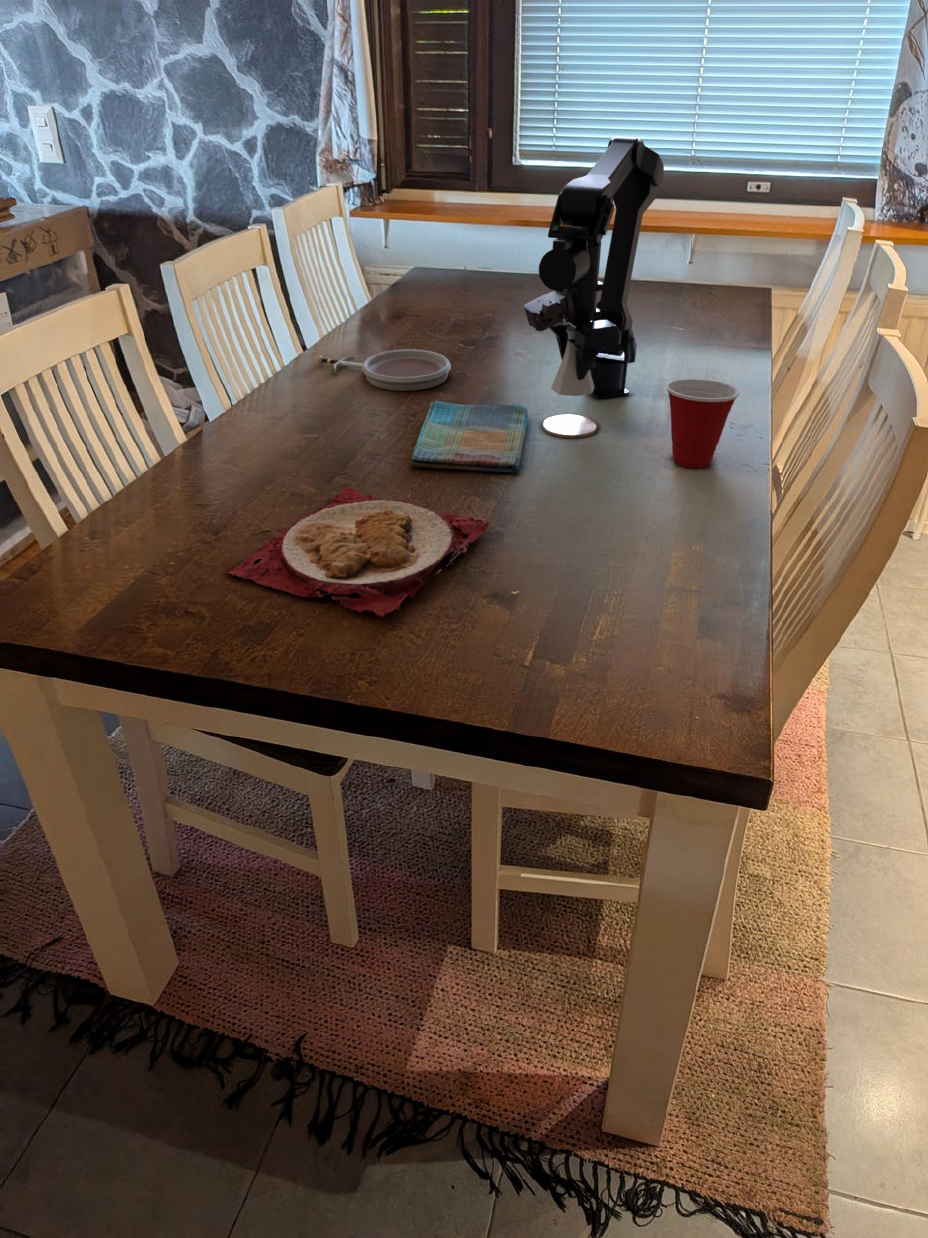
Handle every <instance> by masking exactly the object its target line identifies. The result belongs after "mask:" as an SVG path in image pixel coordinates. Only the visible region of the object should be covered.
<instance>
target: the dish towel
mask: <svg viewBox="0 0 928 1238" xmlns="http://www.w3.org/2000/svg"><path fill="white" fill-rule="evenodd" d="M528 414H529V412H528V408H527V407H526V406H525V405H524V404H521V403H505V404H456V403H449V402H444V401H439V400H435V401H434V402H433V401H432V402H430V404H429V409H428V412H427V414H426V416H425V419H424V421H423V423H422V424H423V425H422V427H421V430H420V432H419V435H418V438H417V441H416V444H415V446H414V449H413V452H412V455H411V457H410V459H411V461H410V462H411V467H414V468H432V469H446V470H447V469H448V470H460V471H461V470H462V471H475V472H477V471H478V472H486V473H489V472H490V473H505V474H516V473H518V472H519V469H520V465H521V460H522V453H523V448H524V443H525V436H526V432H527V429H528V421H529V415H528Z"/></svg>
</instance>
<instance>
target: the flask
mask: <svg viewBox="0 0 928 1238" xmlns="http://www.w3.org/2000/svg"><path fill="white" fill-rule="evenodd" d="M575 329H576V328H574V327H572V326H570V327H567V330H566V331H567V333H568V339H575V337H574V332H575ZM550 389H551V390H552V391H553V392H554V393H556V394H557V395H559V396H569V397H570V396H571V397H581V396H586V395H592V393H593V390H594V384H593V380H592V377H591V373H590V370H589V371H588V373H587V374H586V376H585V378H584V379H583V380H578V378H577V374H576V357H575V348H574V347H573V346H572V345H571V344H570V342H569V341H568V342H567V346H566V351H565V354H564V357H563V360H561V362H560V365H559V367H558V370H557V372H556V374H555V377H554V380H553V383H552V386H551V387H550Z"/></svg>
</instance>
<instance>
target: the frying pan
mask: <svg viewBox="0 0 928 1238" xmlns="http://www.w3.org/2000/svg"><path fill="white" fill-rule="evenodd" d="M354 360H356V355H355V354H353V355H348V356H344V357H342V358H341V359H332V358H324V357H323V356H322V355H319V356H317V357H316V359H315V361H316V363H317V364H318V365H323V364H329V365H333V370H334V373H337V368H338V367H340V366H344V367H352V368H360V369H361V372H362V373H363V374H364V376H365V378H366V381H367V382H368V383H369V384H370V385H372V386H374V387H376V388H378V389H379V388H380V389H383V390H384V389H385V390H389V391H401V392H406V391H407V392H408V391H409V392H410V391H420V390H427V389H430V388H434V387H436V386H437V387H438V386H439V385H441V384H443V383H445V381H446V380H447V378H448V376H449V372H450V371H451V369H452V365H451V362H450V360H449V359H448V358H447V357H445V355H443V354H441V353H437V352H435V351H430V350H425V349H412V348H411V349H410V348H409V349H393V350H386V351H383V352H379V353H375V354H373V355H370V356H369V357H367V358H366V359H365V360H364V362H363V363H362V362H353V361H354Z"/></svg>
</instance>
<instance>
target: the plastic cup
mask: <svg viewBox="0 0 928 1238" xmlns="http://www.w3.org/2000/svg"><path fill="white" fill-rule="evenodd" d="M665 387H666V392H667V393H668V400H669V407H670V408H669V409H670V431H671V432H670V434H671V436H670V437H671V438H670V439H671V446H672V447H671V448H672V449H671V451H672V460H673V462H674V463H675V464H676V465H678V466H680V467H684V468H687V469H702V468H706V467H708V466H709V465H710V464H711V461H712V460H713V458H714V456H715V455H714V454H715V452H716V449H717V446H718V444H719V442H720V440H721V437H722V434H723V432H724V428H725V426H726V422H727V419H728V416H729V413H730V412H731V410H732V407H733V405H734V403H735V401H736V399H737V398H738V397H739V396H740V394H741V392H740V390H739V388H737V387H736V386H733V385H732V384H729V383H726V382H722V381H717V380H711V379H701V378H680V379H675V380H670V381H669V382H668V383H666V384H665Z"/></svg>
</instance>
